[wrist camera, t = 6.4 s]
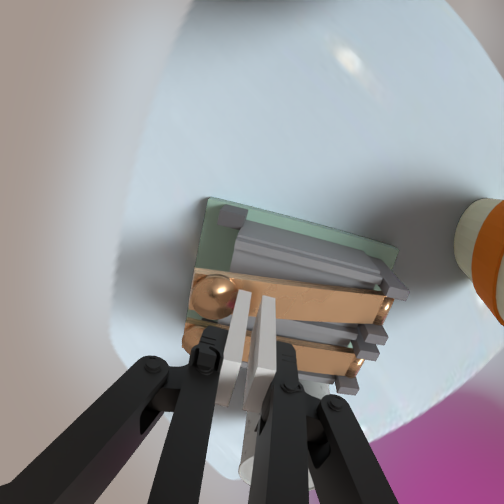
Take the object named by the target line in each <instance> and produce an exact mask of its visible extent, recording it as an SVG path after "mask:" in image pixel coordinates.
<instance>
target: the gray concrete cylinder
mask: <svg viewBox="0 0 504 504" xmlns="http://www.w3.org/2000/svg"><path fill="white" fill-rule="evenodd" d="M299 382H300V383H301V384H302V385H303V387H304V390H305V392H306V393H307V394H309V395H311V396H314V397H316V398H319V399H322V397H324V396H325V395H329V394H330V391H329V384H326V383H320V382H313V381H307V380H302V379H299ZM261 412H262V407H261V410H260V412H259V413H254V412H249V411H247V417H246V425H245V433H244V440H243V448H242V455H241V463H240V465H239V470H238V473H239V475H240V478H241V479H242V480H243V481H244V482H245V483H247V484H248V485H251V477H252V470H253V462H254V454H255V445H256V437H257V432H254V430H255V428H256V426H257V423H258V421H259V419H260V416H261ZM308 478H309V491H310V490H314V489H315V487H314V484H313V481H312V478H311V475H310V472H309V469H308Z"/></svg>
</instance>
